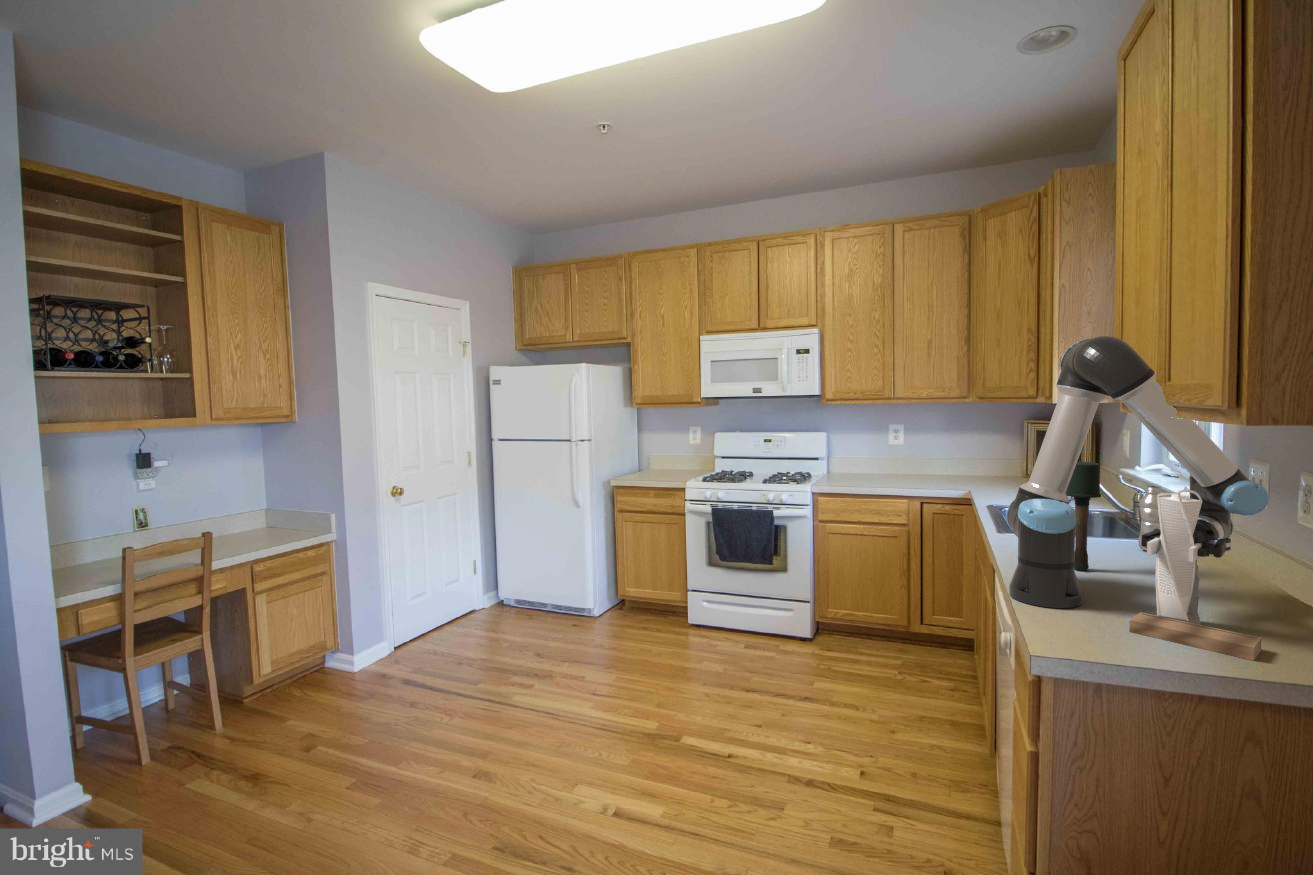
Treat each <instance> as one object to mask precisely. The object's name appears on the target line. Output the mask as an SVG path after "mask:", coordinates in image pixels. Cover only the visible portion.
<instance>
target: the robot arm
mask: <svg viewBox="0 0 1313 875" xmlns="http://www.w3.org/2000/svg"><path fill="white" fill-rule="evenodd" d="M1059 366H1060V374H1059V376H1058V379H1057V382H1056V385H1055V386H1056V389H1057V390H1058V392H1059V396H1058V400H1057V402H1056V405H1055V408H1054V409H1053V410H1054V411H1053V412H1052V413H1053V414H1052V416H1051V419H1050V422H1049V424H1048V427H1047V430H1046V433H1045V435H1044V438H1043V439H1042V444H1041V445H1040V446H1041V447H1040V448H1039V452H1038V455H1037V456H1036V461H1035V463H1034V465H1033V468H1032V472H1031V474H1030V477H1029V480H1028V481H1027V482H1026V483H1023V484H1020V486H1019V488H1018V490H1017V493H1016V496H1015V498H1014V499H1013V500H1012V501H1011V503H1010V504H1009V505H1008V508H1007V510H1006V522H1007V525H1008V528H1009V529H1010V530H1011V533H1013V534H1014V535H1015V536H1016V537H1017V541H1018V542H1017V545H1018V546H1017V565H1016V568H1015V570H1014V573H1013V575H1012V577H1011V578H1012V579H1011V581H1010V583H1009V589H1008V590H1009V593H1008V594H1009V596H1010V597H1011V598H1013V599H1014V600H1016V601H1019V602H1021V603H1025V604H1027V605H1031V606H1037V607H1043V608H1051V609H1052V608H1053V609H1072V608H1073V609H1074V608H1076V607H1081V606H1082V605H1083V595H1084V594H1083V592H1082V588H1081V585H1080V583H1079V581H1078V578H1077V574H1076V570H1075V569H1074V556H1075V539H1076V517H1075V508H1074V507H1073V506H1072V505H1070V503H1071V500H1070V498H1069V496H1067V495H1066V490H1067V488H1068V485H1069V482H1070V480H1071V477H1072V474H1073V472H1074V469H1075V466H1076V464H1077V462H1079V458H1080V455H1081V452H1082V450H1083V448H1084V444H1085V443H1086V439H1087V436H1088V434H1089V431H1090V428H1091V426H1092V423H1093V420H1094V418H1095V414H1096V413H1097V410H1098V407H1099V404H1100V403H1101V402H1103V401H1105V400H1107V399H1109V398H1111V399H1112V400H1114V401H1120V402H1122V403H1123V404H1124V405H1125V406H1126V407H1127V408H1128V410H1129V411H1131V413H1132V414H1133V415H1134V416H1135V417H1136V418H1137V420H1139V421H1140V423H1142V425H1143V426H1145V428H1146V429H1147V430H1149V432H1150V433H1151V434H1152V435H1153V436H1154V437H1155V438H1156V440H1158V442H1160V444H1161V445H1162V446H1163V447H1164V448H1165V449H1166V451H1168V452H1169V453H1170V454H1171V455H1172V456H1173V458H1175V460H1176V461H1177V462H1179V464H1180V465H1181V466H1182V468H1184V470H1186V471H1187V473H1188V474H1189V478H1188V479H1189V490H1192V491H1195V492H1197V493H1198V494H1199V496H1200V497H1201V499H1202V505H1201V509H1200V512H1199V516H1198V520H1197V523H1196V527H1195V530H1194V533H1193V540H1194V546H1192V547H1190V548H1189V556H1188V561H1190V562H1194V561H1195V560H1197V561H1198V559H1200V558H1201V557H1203V558H1206V557H1210V555H1212V556H1213V557H1214V558H1222V557H1224V556H1223V555H1224V554H1225V552H1229V551H1231V545H1232V544H1231V541H1232V538H1230V537H1231V535H1232V534H1233V531H1234V526H1235V525H1234V523H1233V521H1232V519H1231V514H1235V515H1240V516H1248V517H1249V516H1254V515H1257V514H1259V513H1261V512H1263V511H1264V510H1265V509H1266V508H1267V507H1268V505H1269V503H1270V495H1269V492H1268V491H1267V489H1266V488H1265V487H1264V486H1262V485H1261V484H1259V483H1258V482H1256V481H1253V480H1250V478H1248V477H1247V475H1246V474H1244V472H1243V471H1242V470H1240V469H1239V468H1238V466H1237V465H1236V464H1235V463H1234V462H1233V461H1232V460H1231V459H1230V458H1229V457H1228V456H1227V455H1226V453H1225V452H1224V451H1223V450H1222V449H1221V448H1220V447H1219V446H1218V445H1217V444H1216V443H1215V442H1214V441H1213V440H1212V439H1211V437H1209V436H1208V434H1207V433H1206V432H1204V430H1203V429H1202V428H1201V427H1200V426H1199V425H1198V423H1197V422H1195V421H1194V420H1193V419H1192V420H1188V419H1177V418H1171V417H1179V416H1176V414H1177V410H1176V408H1174V407H1173V406H1171V405H1169V404H1167V402H1166V399H1165V396H1164V394H1163V390H1162V388H1163V387H1162V386H1161V385H1160V383H1158V382H1157V381H1156V375H1157V373H1156V372H1155V371H1154V370H1153V368H1151V366H1149V364H1148V363H1147V362H1146V361H1145V359H1143V357H1142V356H1141V355H1140V354H1139V353H1138V352H1137V351H1136V350H1135V349H1134V348H1133V347H1132V346H1131V345H1130V344H1128V342H1126V341H1125V340H1123V339H1121V338H1118V337H1115V336H1110V335H1099V336H1096V337H1093V338H1086V339H1082V340H1079V341H1077V342H1076V343H1073V344H1072V345H1071V346H1070V347H1068V349H1067V350H1065V352H1064V354H1063V355H1062V357H1061V361H1060V365H1059ZM1189 499H1195V500H1199V498H1198V496H1197V495H1195V494H1194V493H1190V492H1189ZM1160 535H1161V531H1160V530H1159V529H1154V531H1152V532H1149V533H1146V534H1143V535H1142V539H1141V546H1143V547H1146V548H1147V551H1146V556H1152V555H1154V554H1157V552H1158V551H1159V546H1160Z"/></svg>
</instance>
